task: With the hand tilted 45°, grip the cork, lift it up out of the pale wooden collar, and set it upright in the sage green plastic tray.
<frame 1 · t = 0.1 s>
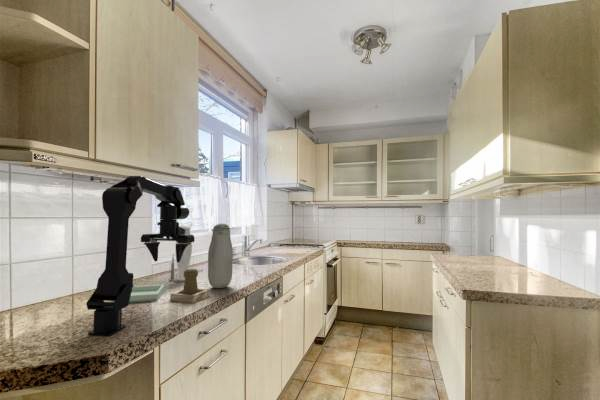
hand: (167, 261, 109), 14 cm above the countertop, tool pointing down, fingers open, 9 cm apart
skyscraper: (182, 280, 144), on the countertop
sage green tray: (140, 296, 114), on the countertop
cork: (190, 298, 113), resting in wooden collar
wooden collar: (190, 298, 113), on the countertop
grey bottle: (220, 288, 129), on the countertop
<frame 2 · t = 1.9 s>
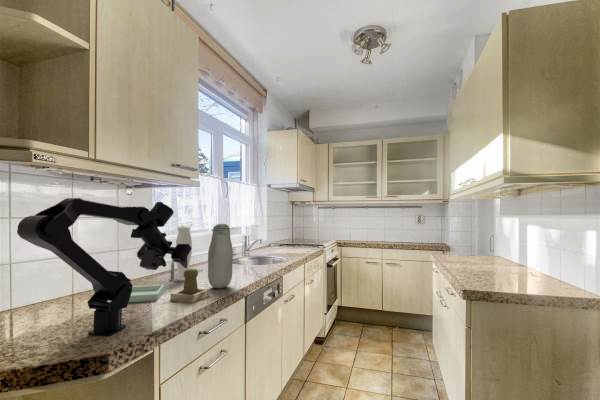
hand: (175, 266, 106), 13 cm above the countertop, tool tilted 45°, fingers open, 9 cm apart
nothing on the countertop moved.
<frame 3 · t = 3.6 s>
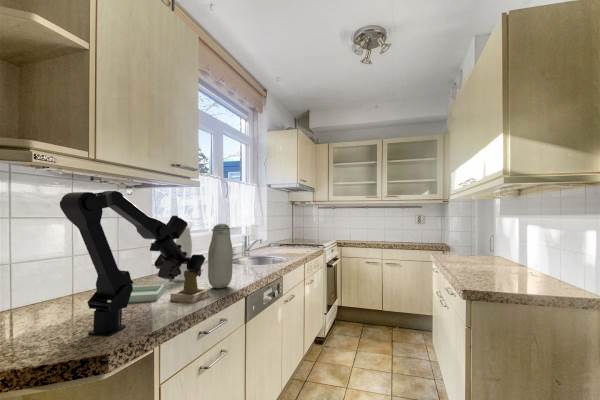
hand: (190, 274, 113), 9 cm above the countertop, tool tilted 45°, fingers open, 9 cm apart
nothing on the countertop moved.
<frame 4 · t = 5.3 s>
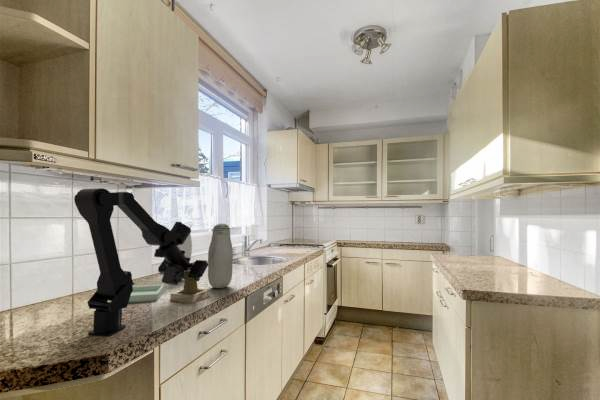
hand: (193, 279, 115), 7 cm above the countertop, tool tilted 45°, fingers closed on cork, 5 cm apart
cork: (190, 298, 113), resting in wooden collar, touching gripper
everything else where it was.
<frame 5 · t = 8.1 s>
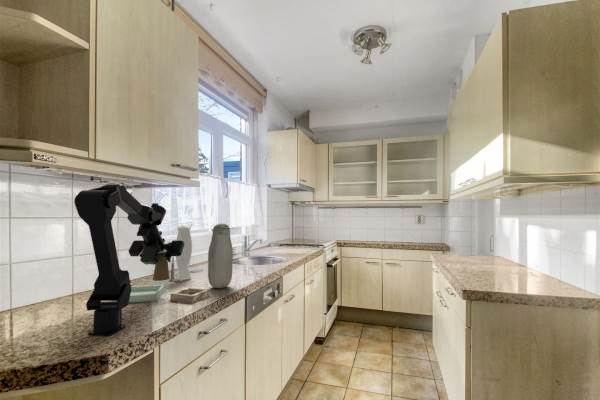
hand: (163, 261, 117), 13 cm above the countertop, tool tilted 45°, fingers closed on cork, 5 cm apart
cork: (161, 279, 115), point 6 cm above the countertop, touching gripper
everything else where it was.
when the fingers open (8 cm above the countertop, at t = 10.8 s): cork drops 1 cm, resting on sage green tray.
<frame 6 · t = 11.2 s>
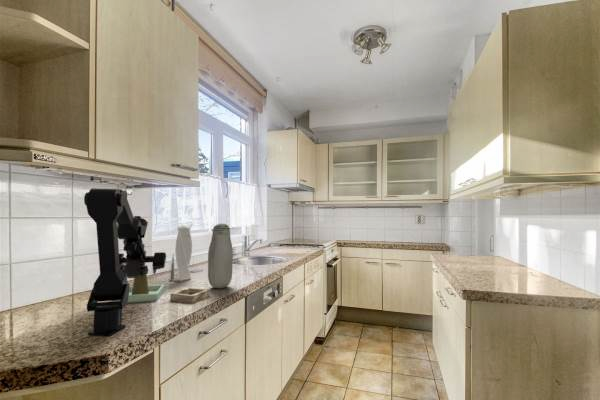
hand: (141, 273, 116), 9 cm above the countertop, tool tilted 45°, fingers open, 9 cm apart
cork: (140, 295, 114), resting on sage green tray
everything else where it was.
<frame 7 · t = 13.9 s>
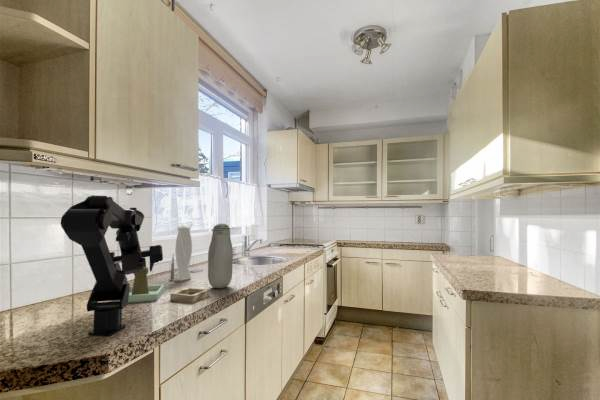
hand: (136, 273, 106), 11 cm above the countertop, tool tilted 40°, fingers open, 9 cm apart
nothing on the countertop moved.
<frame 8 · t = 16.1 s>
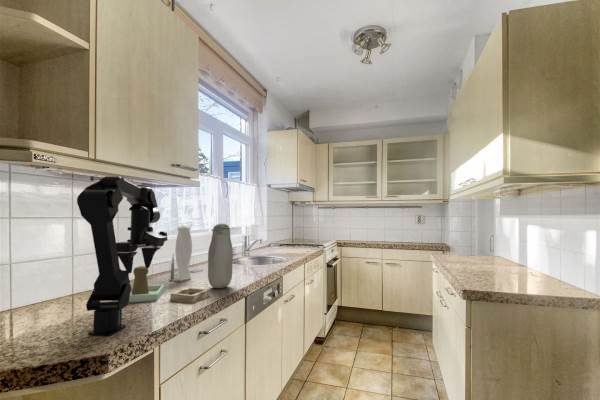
hand: (138, 270, 100), 13 cm above the countertop, tool pointing down, fingers open, 9 cm apart
nothing on the countertop moved.
at the end: cork inside the target area on the sage green tray (0.1 cm from its centre), point 0.4 cm above the sage green tray's base; cork tilted 0°; the gripper is holding nothing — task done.
